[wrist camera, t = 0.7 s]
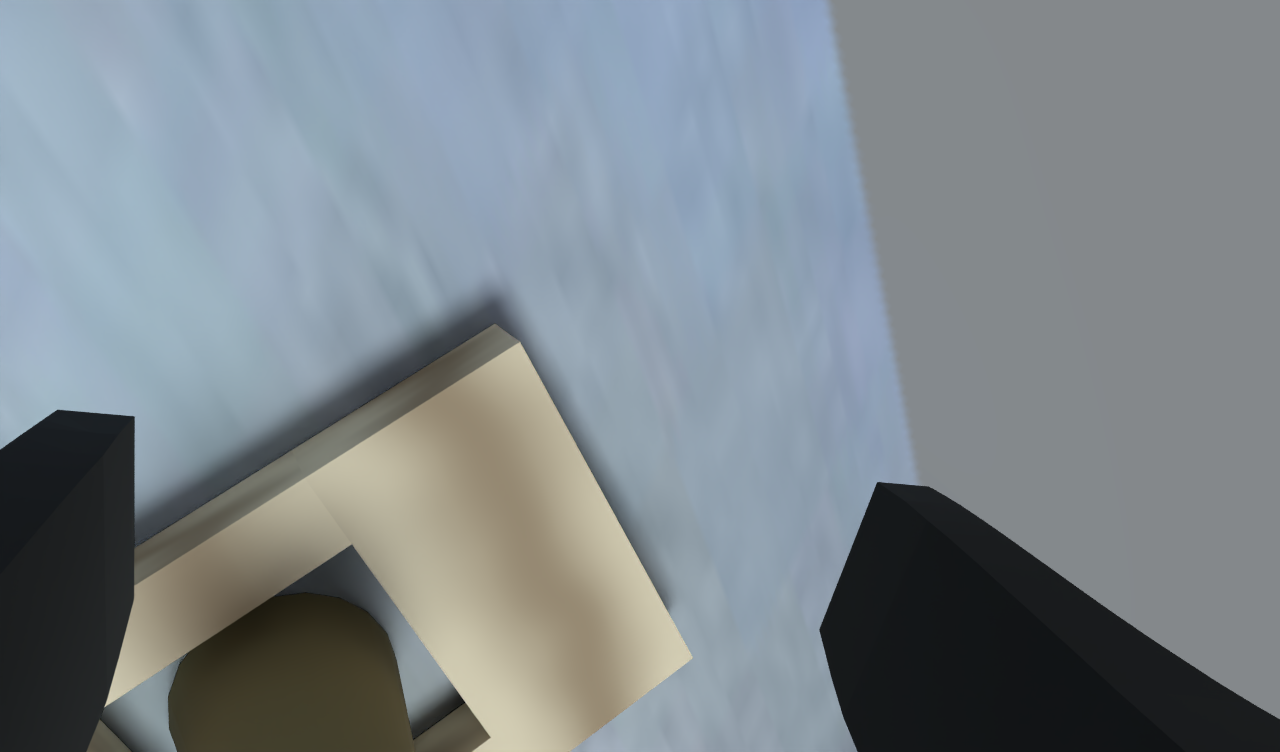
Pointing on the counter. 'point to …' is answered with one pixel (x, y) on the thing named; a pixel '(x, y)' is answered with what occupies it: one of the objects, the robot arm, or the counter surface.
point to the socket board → (434, 555)
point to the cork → (292, 683)
